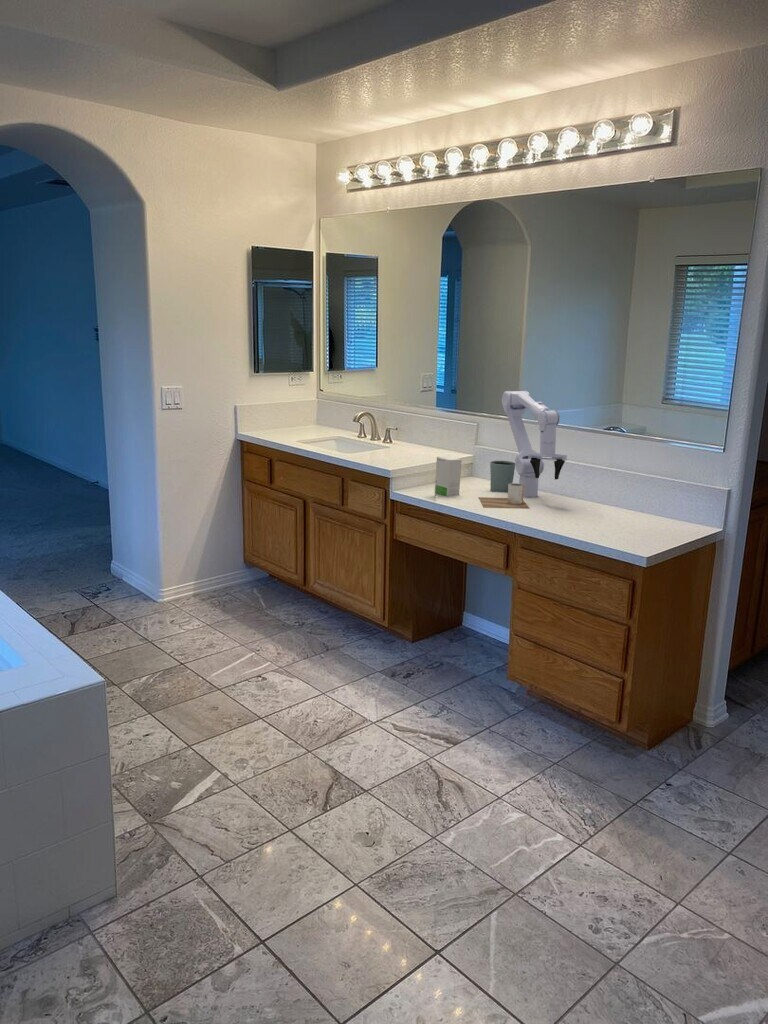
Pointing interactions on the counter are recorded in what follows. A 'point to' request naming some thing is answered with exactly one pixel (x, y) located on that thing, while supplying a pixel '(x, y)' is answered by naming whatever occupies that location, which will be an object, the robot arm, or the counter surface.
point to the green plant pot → (501, 475)
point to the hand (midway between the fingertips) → (546, 478)
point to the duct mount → (500, 503)
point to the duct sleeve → (515, 493)
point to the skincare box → (447, 475)
